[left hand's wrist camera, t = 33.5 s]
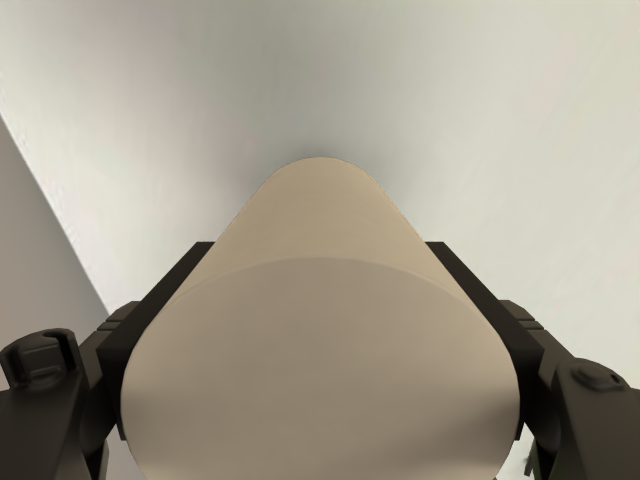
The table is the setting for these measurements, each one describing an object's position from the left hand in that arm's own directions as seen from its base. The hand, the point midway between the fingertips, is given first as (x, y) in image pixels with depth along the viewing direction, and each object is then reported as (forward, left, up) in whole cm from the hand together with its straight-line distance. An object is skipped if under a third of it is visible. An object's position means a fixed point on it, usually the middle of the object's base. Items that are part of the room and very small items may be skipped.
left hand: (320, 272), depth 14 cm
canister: (0, 0, -6) cm, 6 cm away
